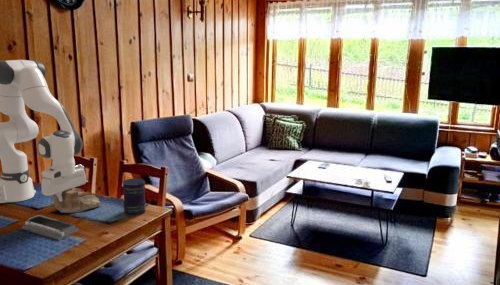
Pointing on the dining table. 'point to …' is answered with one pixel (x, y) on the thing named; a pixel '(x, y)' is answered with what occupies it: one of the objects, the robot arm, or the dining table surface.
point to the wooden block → (68, 199)
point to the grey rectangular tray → (49, 227)
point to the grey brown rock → (81, 204)
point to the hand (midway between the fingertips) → (65, 199)
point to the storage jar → (134, 196)
